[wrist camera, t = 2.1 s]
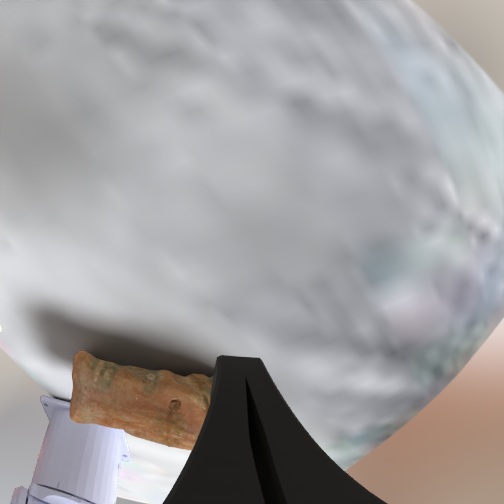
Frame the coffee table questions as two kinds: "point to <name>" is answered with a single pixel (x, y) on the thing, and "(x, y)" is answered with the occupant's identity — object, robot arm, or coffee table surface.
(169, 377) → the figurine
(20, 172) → the coffee table surface
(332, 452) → the coffee table surface
